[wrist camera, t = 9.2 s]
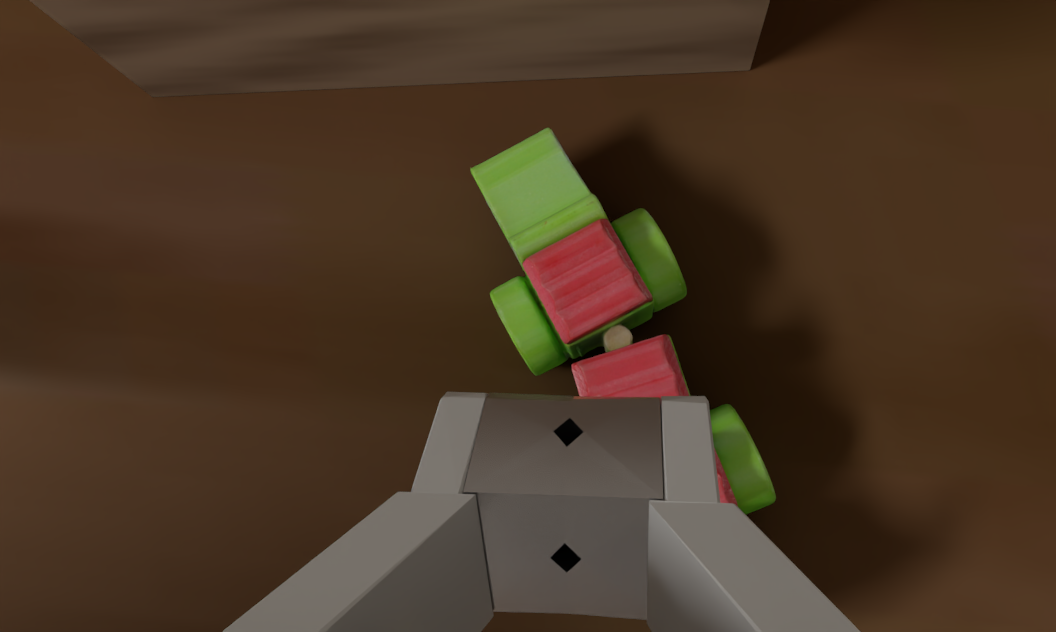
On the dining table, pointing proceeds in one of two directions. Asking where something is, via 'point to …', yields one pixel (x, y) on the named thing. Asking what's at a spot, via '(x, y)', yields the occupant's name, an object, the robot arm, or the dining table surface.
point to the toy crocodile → (599, 296)
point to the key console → (405, 40)
